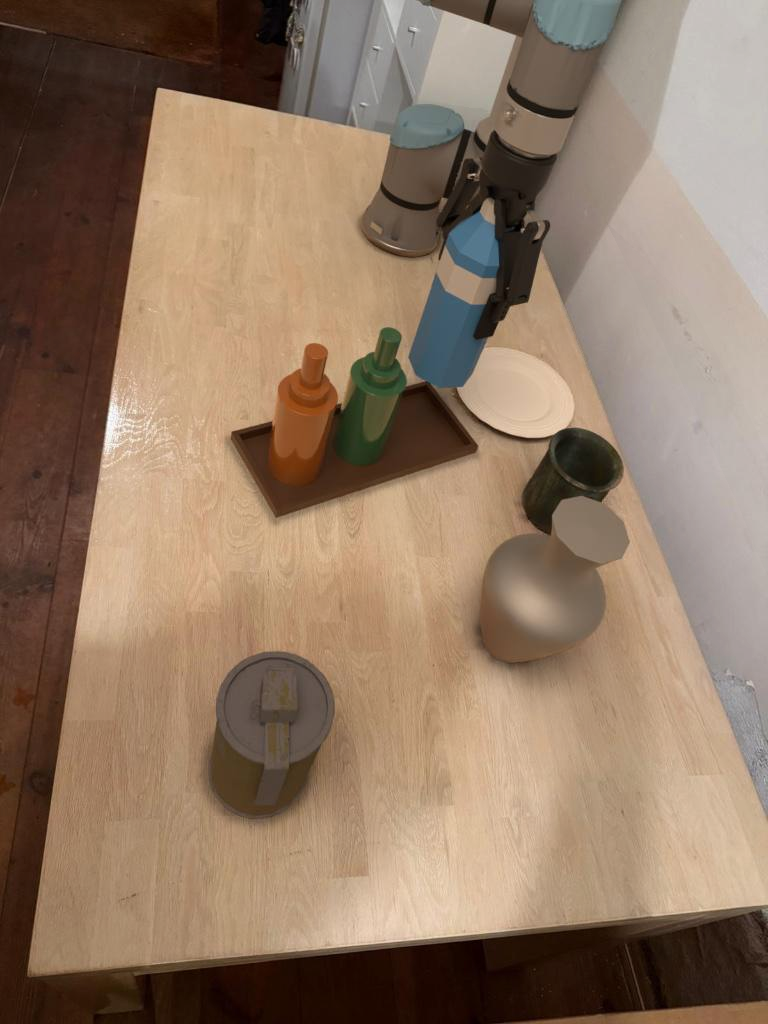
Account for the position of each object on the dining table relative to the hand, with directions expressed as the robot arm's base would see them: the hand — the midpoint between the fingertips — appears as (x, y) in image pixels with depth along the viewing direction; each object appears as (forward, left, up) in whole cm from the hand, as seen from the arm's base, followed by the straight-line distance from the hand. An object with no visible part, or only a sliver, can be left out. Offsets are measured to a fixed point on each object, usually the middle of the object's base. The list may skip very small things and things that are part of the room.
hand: (461, 310), depth 96 cm
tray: (+10, 0, -23) cm, 25 cm away
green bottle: (+10, 0, -23) cm, 25 cm away
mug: (-11, +22, -23) cm, 34 cm away
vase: (+8, +35, -23) cm, 43 cm away
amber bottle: (+21, 0, -23) cm, 31 cm away
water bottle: (0, 0, -10) cm, 10 cm away
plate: (-20, -1, -23) cm, 31 cm away
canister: (+43, +36, -23) cm, 61 cm away
